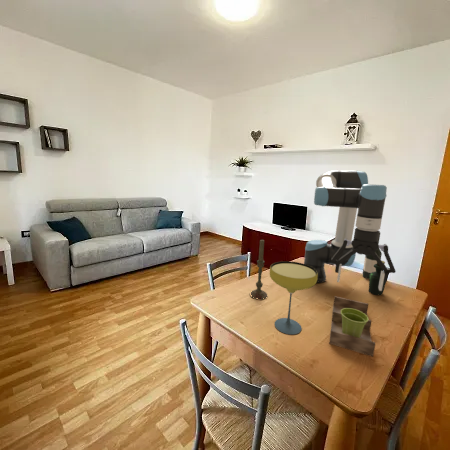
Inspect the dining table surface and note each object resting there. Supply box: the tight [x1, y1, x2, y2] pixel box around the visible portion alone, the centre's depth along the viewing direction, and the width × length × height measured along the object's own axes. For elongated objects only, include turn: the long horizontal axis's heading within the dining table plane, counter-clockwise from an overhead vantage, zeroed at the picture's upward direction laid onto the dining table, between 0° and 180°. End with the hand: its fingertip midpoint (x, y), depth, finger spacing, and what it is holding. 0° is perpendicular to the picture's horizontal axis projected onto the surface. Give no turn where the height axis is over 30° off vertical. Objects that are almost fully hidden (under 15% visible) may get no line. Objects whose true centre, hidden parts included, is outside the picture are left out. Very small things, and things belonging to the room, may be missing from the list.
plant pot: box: [341, 308, 370, 338], centre depth 92 cm, size 9×9×9 cm
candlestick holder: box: [250, 239, 268, 300], centre depth 121 cm, size 9×9×30 cm
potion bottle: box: [368, 260, 387, 296], centre depth 129 cm, size 8×8×18 cm
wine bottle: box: [362, 230, 383, 280], centre depth 149 cm, size 8×8×30 cm
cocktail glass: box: [269, 260, 318, 336], centre depth 97 cm, size 18×18×25 cm
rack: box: [329, 295, 376, 357], centre depth 99 cm, size 14×30×5 cm, turn 154°
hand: (358, 284), depth 89 cm, fingers open, 13 cm apart
